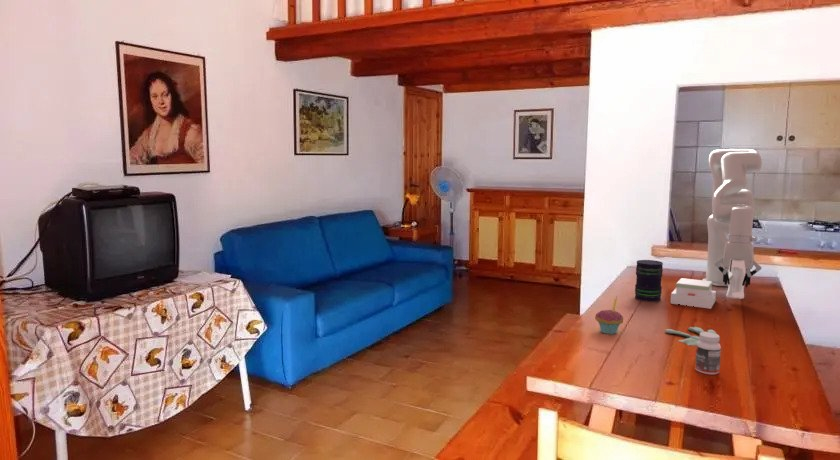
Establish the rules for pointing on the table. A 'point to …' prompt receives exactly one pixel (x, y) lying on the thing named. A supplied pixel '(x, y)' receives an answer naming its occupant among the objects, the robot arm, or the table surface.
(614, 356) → the table surface
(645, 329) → the table surface
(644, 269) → the storage jar
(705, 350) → the pill bottle
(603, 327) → the cupcake
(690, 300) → the step stand
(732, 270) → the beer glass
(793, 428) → the table surface
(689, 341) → the green flat branched shape
